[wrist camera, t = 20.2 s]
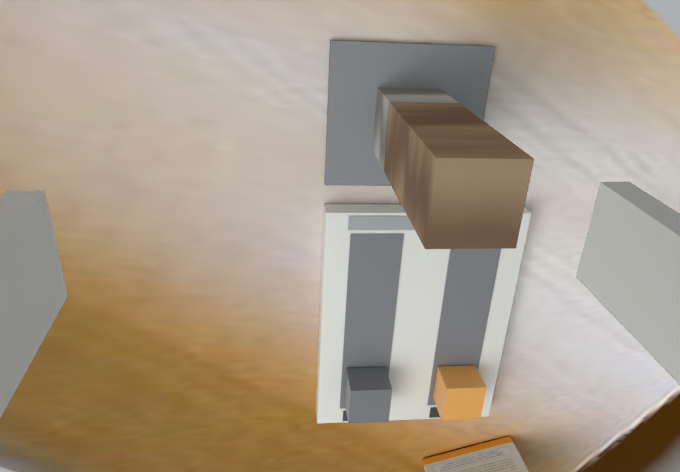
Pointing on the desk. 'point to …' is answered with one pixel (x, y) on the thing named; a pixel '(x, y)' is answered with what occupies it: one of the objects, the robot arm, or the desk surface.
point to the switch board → (407, 308)
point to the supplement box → (479, 458)
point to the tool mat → (390, 72)
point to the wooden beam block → (450, 170)
